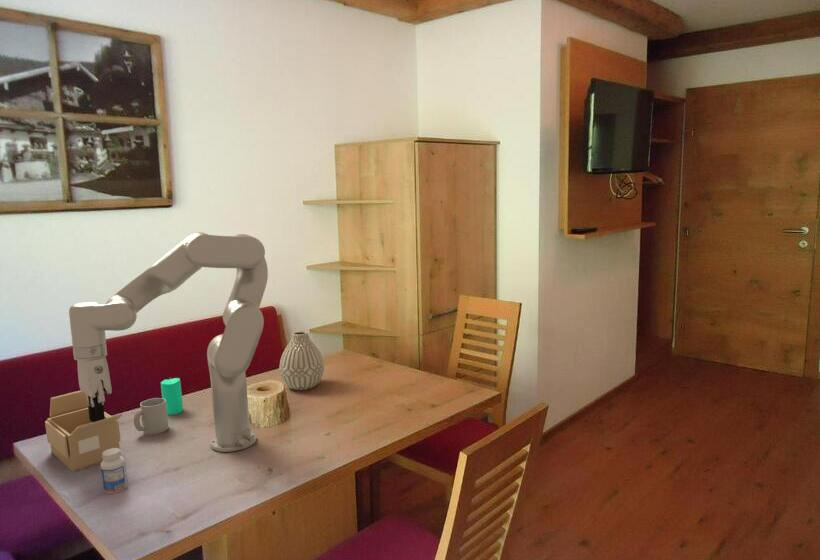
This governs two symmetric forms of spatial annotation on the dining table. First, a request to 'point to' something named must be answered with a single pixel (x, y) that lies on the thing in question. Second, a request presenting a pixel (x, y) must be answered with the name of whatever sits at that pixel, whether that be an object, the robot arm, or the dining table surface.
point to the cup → (152, 416)
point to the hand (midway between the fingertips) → (97, 419)
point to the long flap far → (68, 403)
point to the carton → (80, 439)
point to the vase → (301, 363)
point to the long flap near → (96, 424)
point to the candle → (172, 395)
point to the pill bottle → (113, 471)
